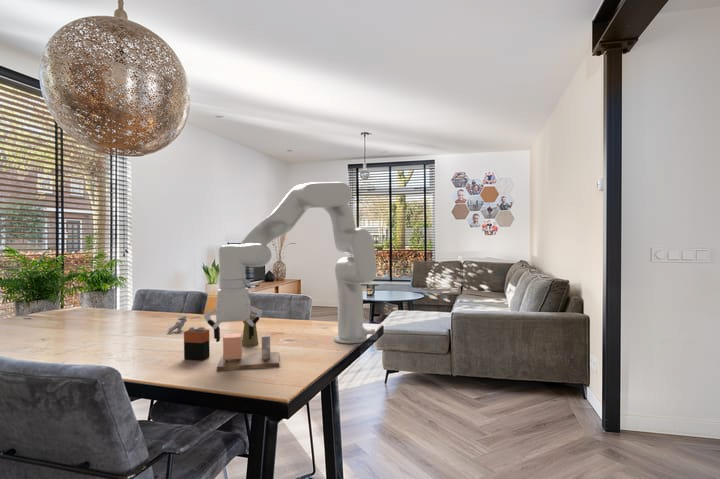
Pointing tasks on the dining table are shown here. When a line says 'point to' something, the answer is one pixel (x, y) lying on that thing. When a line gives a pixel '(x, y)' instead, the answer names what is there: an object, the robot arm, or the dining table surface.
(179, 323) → the grey animal figurine
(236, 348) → the salmon pink foam cube
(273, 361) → the peg stand
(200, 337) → the battery
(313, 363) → the dining table surface
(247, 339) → the cork
